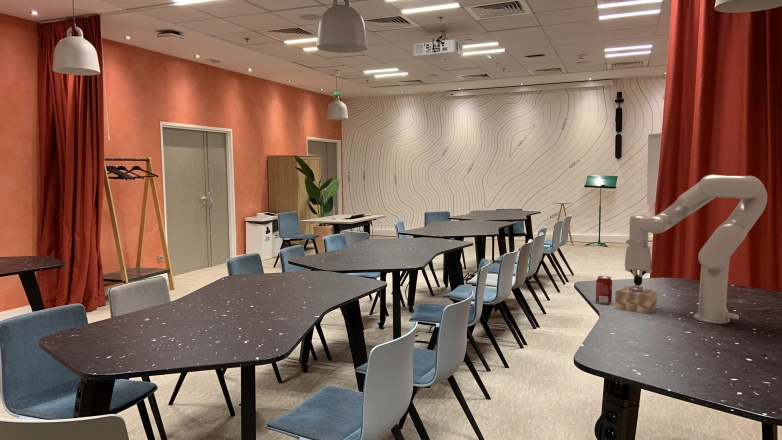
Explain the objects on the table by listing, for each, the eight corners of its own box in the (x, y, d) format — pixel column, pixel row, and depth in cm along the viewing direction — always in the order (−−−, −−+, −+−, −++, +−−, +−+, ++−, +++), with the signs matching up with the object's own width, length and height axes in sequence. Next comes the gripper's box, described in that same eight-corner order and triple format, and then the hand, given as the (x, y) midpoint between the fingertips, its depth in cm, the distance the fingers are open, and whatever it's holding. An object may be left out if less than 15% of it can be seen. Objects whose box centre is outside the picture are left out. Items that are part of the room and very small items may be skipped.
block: (656, 308, 238) (657, 290, 237) (648, 313, 229) (649, 295, 228) (623, 303, 247) (623, 285, 246) (614, 308, 238) (615, 290, 237)
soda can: (609, 305, 243) (610, 279, 242) (593, 303, 247) (594, 277, 246) (613, 302, 248) (614, 276, 247) (598, 300, 252) (599, 274, 251)
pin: (644, 307, 238) (644, 286, 237) (640, 309, 234) (641, 289, 233) (630, 304, 241) (631, 285, 241) (626, 307, 237) (627, 287, 236)
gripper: (618, 243, 237) (617, 284, 238) (654, 245, 227) (654, 288, 229) (623, 241, 242) (622, 281, 244) (659, 243, 233) (658, 285, 234)
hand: (637, 285), depth 236 cm, fingers closed
